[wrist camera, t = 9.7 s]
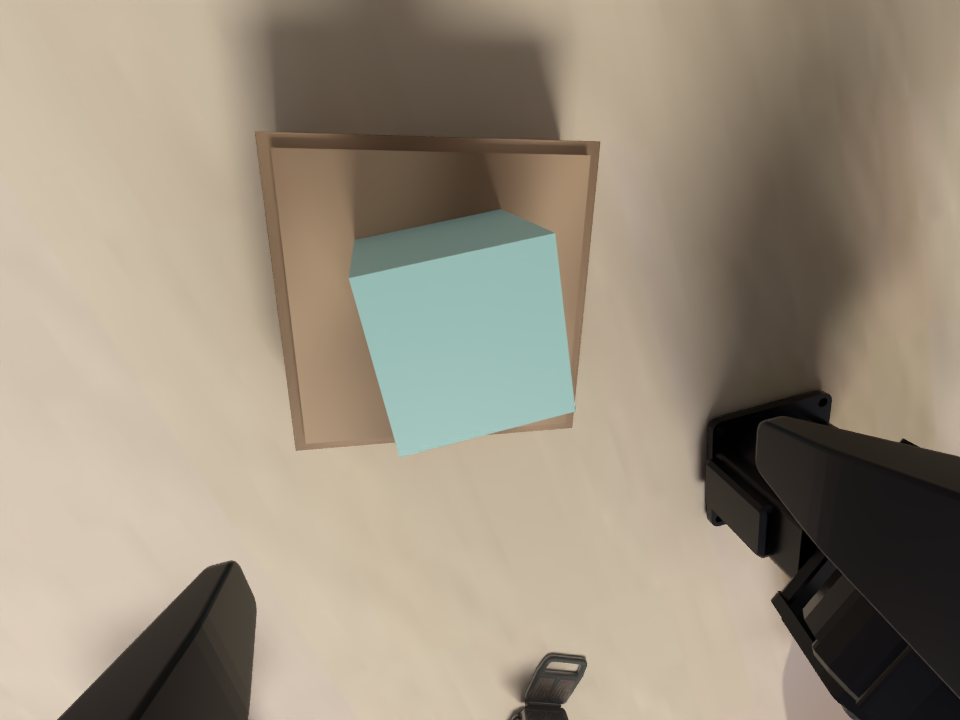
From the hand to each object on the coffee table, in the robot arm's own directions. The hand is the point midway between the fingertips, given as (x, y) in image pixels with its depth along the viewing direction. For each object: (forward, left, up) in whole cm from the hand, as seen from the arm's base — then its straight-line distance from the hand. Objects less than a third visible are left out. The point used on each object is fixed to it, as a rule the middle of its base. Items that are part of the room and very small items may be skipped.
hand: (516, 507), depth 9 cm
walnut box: (0, -1, -13) cm, 13 cm away
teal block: (0, -1, -9) cm, 9 cm away
